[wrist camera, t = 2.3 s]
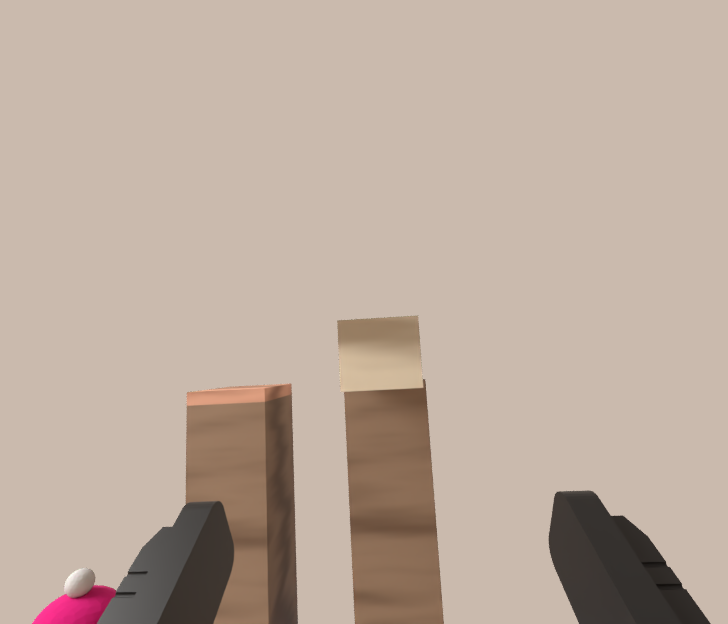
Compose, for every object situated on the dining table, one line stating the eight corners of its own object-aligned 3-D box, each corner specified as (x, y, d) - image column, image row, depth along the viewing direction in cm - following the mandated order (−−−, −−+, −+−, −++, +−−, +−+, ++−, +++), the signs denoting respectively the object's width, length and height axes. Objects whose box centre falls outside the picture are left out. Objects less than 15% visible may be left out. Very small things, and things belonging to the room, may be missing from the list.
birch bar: (423, 387, 19) (417, 315, 19) (340, 392, 19) (337, 320, 19) (404, 376, 42) (402, 343, 43) (367, 377, 43) (366, 346, 43)
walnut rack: (475, 918, 23) (432, 379, 28) (169, 910, 24) (177, 393, 29) (451, 766, 32) (422, 376, 37) (228, 765, 33) (226, 386, 38)
